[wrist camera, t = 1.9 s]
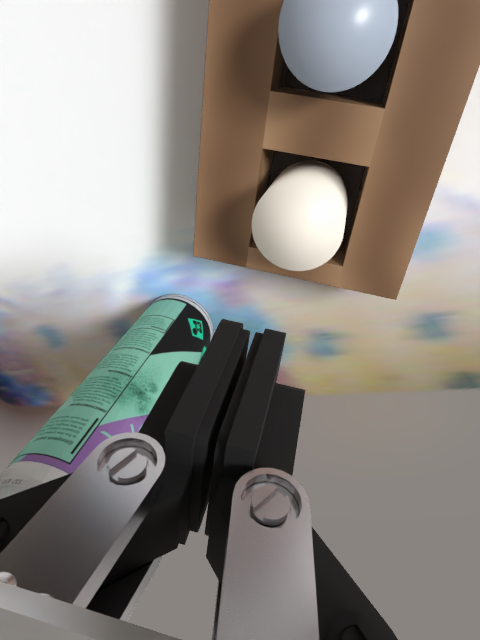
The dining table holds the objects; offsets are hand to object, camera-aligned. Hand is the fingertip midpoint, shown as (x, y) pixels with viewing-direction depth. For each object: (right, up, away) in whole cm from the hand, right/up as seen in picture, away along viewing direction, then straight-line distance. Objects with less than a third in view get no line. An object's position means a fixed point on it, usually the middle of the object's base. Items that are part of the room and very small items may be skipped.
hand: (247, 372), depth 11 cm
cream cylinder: (+4, +8, +13) cm, 16 cm away
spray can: (-5, +1, +23) cm, 23 cm away
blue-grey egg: (+5, +15, +9) cm, 18 cm away
